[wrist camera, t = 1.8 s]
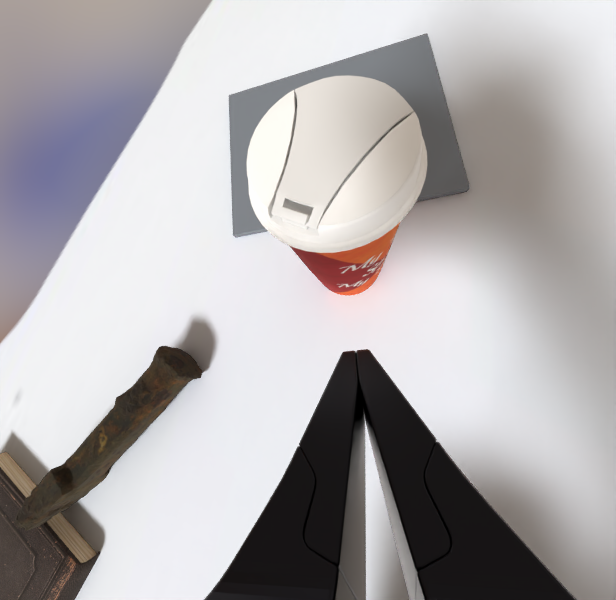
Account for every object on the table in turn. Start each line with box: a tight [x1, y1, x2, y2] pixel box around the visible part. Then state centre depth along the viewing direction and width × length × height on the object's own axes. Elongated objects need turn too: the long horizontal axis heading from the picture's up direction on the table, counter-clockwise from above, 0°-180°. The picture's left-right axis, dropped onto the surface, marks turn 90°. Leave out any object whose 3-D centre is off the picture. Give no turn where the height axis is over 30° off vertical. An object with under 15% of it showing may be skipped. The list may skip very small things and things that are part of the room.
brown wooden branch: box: [14, 346, 202, 531], centre depth 22 cm, size 19×4×5 cm, turn 135°
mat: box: [229, 34, 469, 237], centre depth 26 cm, size 18×22×1 cm
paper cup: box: [247, 75, 427, 295], centre depth 16 cm, size 8×8×14 cm
